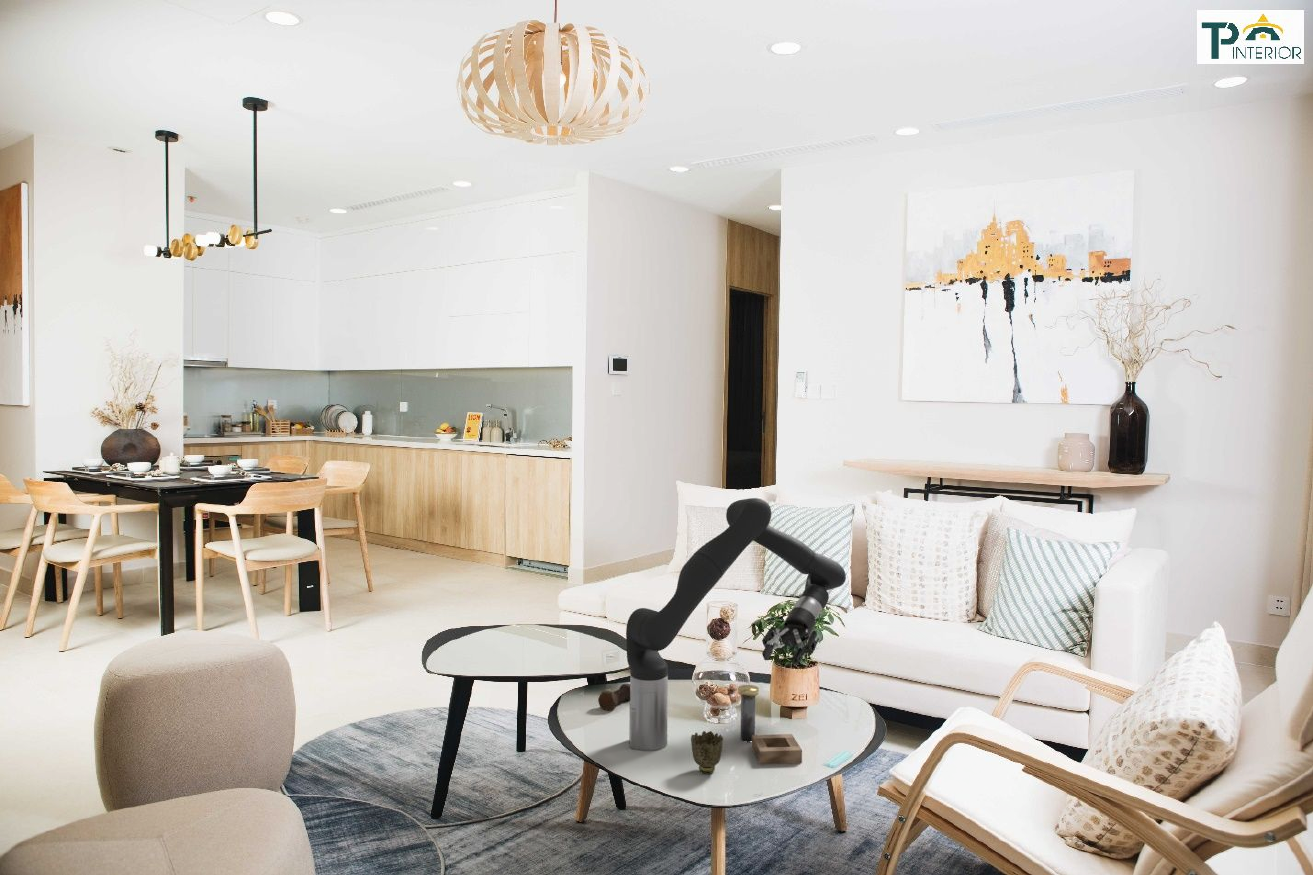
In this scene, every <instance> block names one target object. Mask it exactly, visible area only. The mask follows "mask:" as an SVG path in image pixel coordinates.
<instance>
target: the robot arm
mask: <svg viewBox="0 0 1313 875" xmlns="http://www.w3.org/2000/svg"><path fill="white" fill-rule="evenodd" d="M725 517H726V522H727V524H728V525H729V526H728V527H727V528H726V529H725V530H724V531H723V532H721V533H720V534H718V535H717V536H715V537H714V538H712V539H710V540H709V541H707V542H705V544H704V545H702V546H700V548H699V549H697V551H695V552H694V553H693V554H692V555H691V557H690V558H689V559H688V560H687V561H686V563H684V565H683V567H682V568H681V570H680V572H679V575H678V578H677V586H676V589H675V592H674V594H673V596H672V597H671V598H670V600H669V601H668V602H667V604H666V605H664V606H663V608H661V609H660V610H659V611H657V610H653V609H650V608H646V607H640V608H639V607H638V608H637V609H635V610H634V611H633V612H632V613H631V614H630V615H629V617H628V619H627V624H626V629H625V636H626V637H625V641H626V642H625V643H626V660H627V664H628V667H629V671H630V672H629V673H630V676H629V677H630V679H629V680H630V683H629V684H630V702H629V728H628V729H629V734H628V735H629V746H630V749H635V750H636V749H637V750H641V751H657V750H661V749H664V748H666V747H667V745H668V709H669V708H668V702H669V700H668V698H669V697H668V696H669V692H668V691H669V689H668V684H669V683H668V681H669V674H668V673H669V667H668V663H667V662H666V661H665V659H664V658H663V657H662V656H661V654H660V651H663V650H665V649H666V648H668V647H669V645H670V644H671V643H672V642H673V641H674V639H675V638H676V636H678V634H679V632H681V629H682V628H683V626H684V625H685V624H686V622H687V621H688V619H689V617H690V616H691V615H692V613H693V612H694V610H695V609H696V608H698V606H699V604H700V603H701V602H702V601H703V600H704V598H705V597H706V596H707V595H708V594H709V592H710V591H711V590H712V589H713V588H714V587H715V585H717V583H719V581H720V579H721V578H722V577H723V576H724V574H726V572H727V571H728V569H729V568H731V566H733V564H734V562H735V561H736V560H737V559H738V558H739V556H740V555H741V554H742V553H743V552H744V551H745V549H746V548H747V547H748V546H749V545H750V544H751V543H752V542H755V543H757V544H758V545H760V546H762V547H764V548H765V549H767V550H769V551H770V552H772V553H773V554H774V555H776V556H777V557H779V558H780V559H782V560H783V561H784V562H786V563H787V564H788V565H790V566H791V567H792V568H793V569H795V570H796V571H797V572H799V573H800V574H803V575H807V577H806V580H805V587H804V590H803V592H802V593H801V594H800V597H799V598H798V599H797V601H796V602H795V603H794V605H793V607H792V608H791V610H790V612H788V615H787V617H786V618H785V621H784V623H783V626H782V628H780V629H778V628H776V627H775V626H770V628H769V630H768V631H767V633H766V634H765V635H764V636H763V638H762V640H761V641H762V642H761V643H762V644H763V646H764V649H763V650H762V653H761V654H762V657H763V659H764V661H769V659H770V657H771V656H772V654H773V653H774V651H775V650H776V649H778V648H779V649H781V648H783V647H784V646H786V647H792V648H793V647H794V648H796V649H795V652H794V653H793V655H792V657H791V662H792V664H793V665H798V663H800V662H801V660H802V659H803V657H804V656H805V655H806V654H809V655H811V654H813V653H814V652H815V650H816V647H817V644H818V643H819V641H820V637H819V635H818V633H817V630H815V628H816V626H817V624H816V622H815V621H816V619H817V618H819V614H820V613H821V612H820V611H821V610H823V611H824V609H825V607H826V606H827V604H828V602H829V599H830V595H829V592H828V591H830V590H834V589H837V588H840V587H841V586H843V585H844V584H845V582H846V580H847V574H846V572H845V570H844V567H843V566H842V565H841V564H840V563H838V562H837V561H835V560H834V559H832V558H829V557H827V556H825V555H823V554H820V553H818V552H816V551H815V550H813V549H812V548H810V547H809V546H808V545H807V544H805V543H804V542H802V541H801V540H800V539H798V538H796V537H794V536H792V535H790V534H789V533H786V532H783V531H781V530H778V529H777V528H774V527H773V526H771V525H770V522H771V520H772V509H771V506H770V504H769V503H768V502H767V501H766V500H764V499H762V498H757V497H752V498H751V497H750V498H743V499H739V500H736V501H734V502H732V503H730V504H729V506H728V508H726V513H725ZM821 614H822V613H821ZM815 625H816V626H815ZM814 627H815V628H814ZM807 640H808V641H807ZM780 641H781V642H780ZM806 641H807V642H806ZM804 642H806V644H805V645H804V644H803V643H804ZM797 647H798V648H797Z"/></svg>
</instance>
